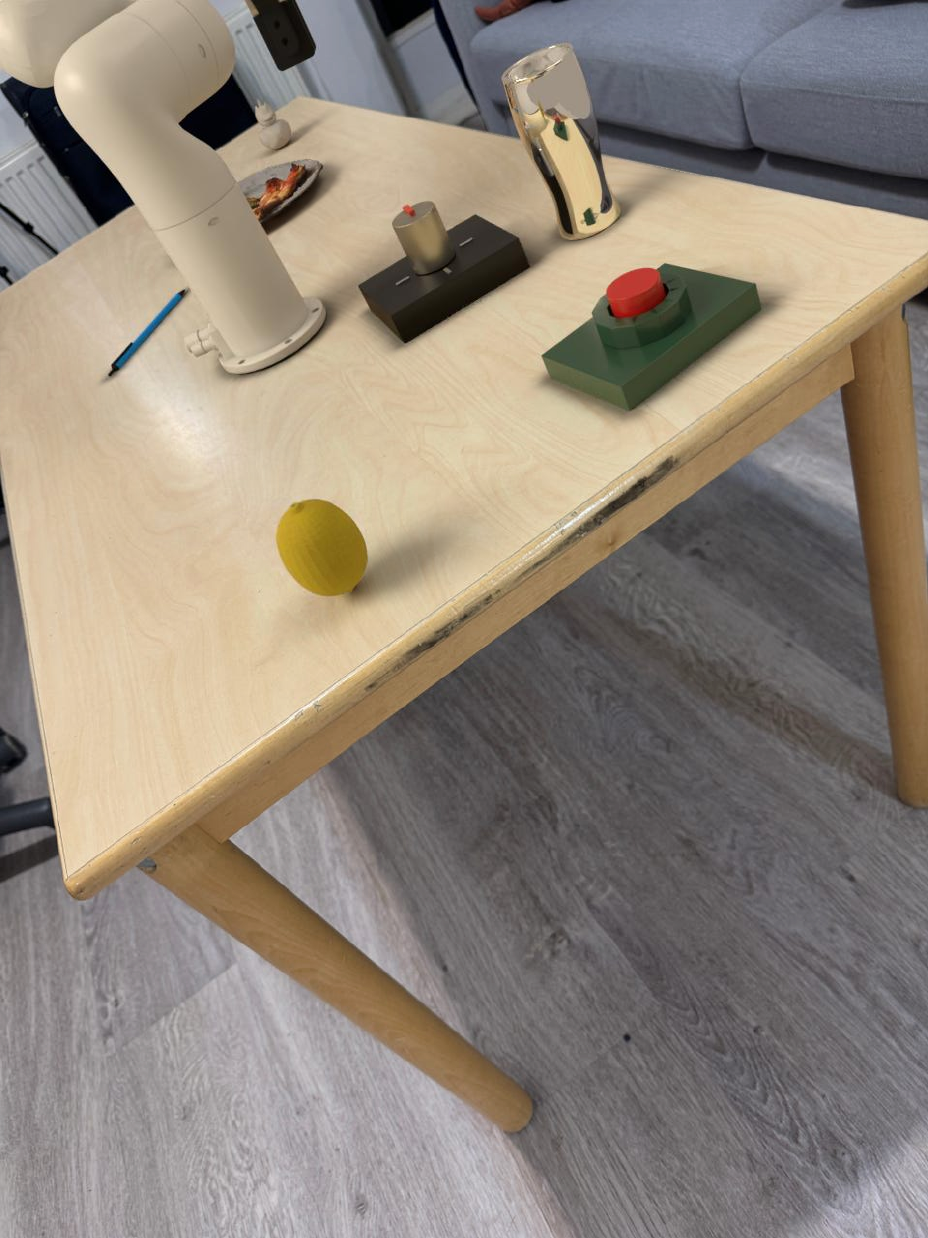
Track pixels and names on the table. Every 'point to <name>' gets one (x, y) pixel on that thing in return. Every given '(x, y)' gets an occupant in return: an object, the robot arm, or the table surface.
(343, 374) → the table surface
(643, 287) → the button
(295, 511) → the lemon
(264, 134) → the rubber duck
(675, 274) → the switchbox
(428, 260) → the knob
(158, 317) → the pen
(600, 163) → the beer glass
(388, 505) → the table surface
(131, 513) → the table surface
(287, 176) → the food plate
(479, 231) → the panel
